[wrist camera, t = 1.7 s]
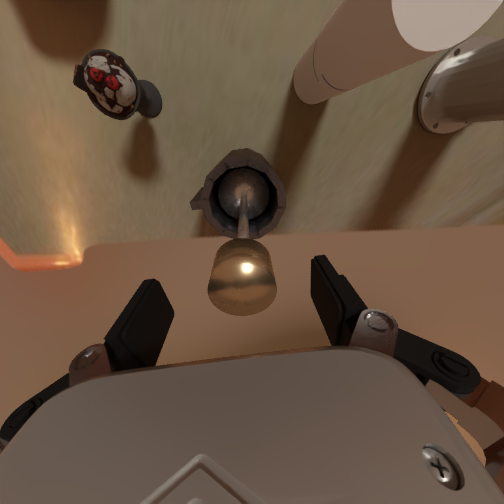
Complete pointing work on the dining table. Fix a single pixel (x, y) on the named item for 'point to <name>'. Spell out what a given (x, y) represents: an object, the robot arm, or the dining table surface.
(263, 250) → the plunger
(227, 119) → the dining table surface
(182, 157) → the dining table surface
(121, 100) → the sundae
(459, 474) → the robot arm
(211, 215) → the press carafe
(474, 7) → the cylindrical container
